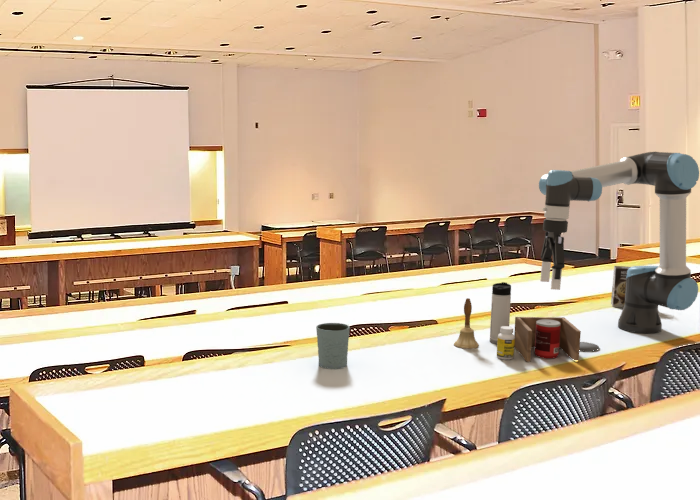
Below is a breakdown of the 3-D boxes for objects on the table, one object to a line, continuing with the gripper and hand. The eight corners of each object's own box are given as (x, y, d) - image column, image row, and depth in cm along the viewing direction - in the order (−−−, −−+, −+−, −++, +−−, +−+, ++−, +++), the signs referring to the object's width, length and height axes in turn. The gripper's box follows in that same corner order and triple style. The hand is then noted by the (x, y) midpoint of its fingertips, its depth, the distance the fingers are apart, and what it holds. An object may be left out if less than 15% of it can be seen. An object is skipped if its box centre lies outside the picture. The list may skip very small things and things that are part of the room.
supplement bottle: (503, 360, 272) (505, 330, 270) (493, 356, 276) (494, 326, 275) (517, 358, 274) (519, 328, 273) (506, 354, 279) (508, 324, 277)
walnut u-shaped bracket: (562, 346, 290) (564, 317, 288) (578, 362, 272) (580, 331, 270) (513, 346, 289) (515, 316, 287) (526, 361, 271) (528, 330, 269)
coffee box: (612, 307, 351) (615, 268, 349) (610, 303, 358) (613, 265, 355) (636, 308, 350) (639, 269, 347) (633, 305, 356) (636, 266, 354)
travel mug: (510, 340, 296) (513, 283, 293) (505, 345, 290) (508, 286, 287) (492, 338, 298) (495, 281, 295) (487, 342, 292) (490, 284, 289)
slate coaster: (593, 343, 294) (593, 341, 294) (602, 351, 284) (603, 350, 284) (564, 343, 294) (564, 341, 294) (572, 351, 284) (572, 349, 284)
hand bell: (478, 349, 284) (480, 302, 281) (452, 347, 285) (454, 300, 283) (479, 343, 292) (481, 296, 289) (454, 341, 293) (456, 295, 291)
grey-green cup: (337, 371, 256) (338, 332, 254) (309, 365, 262) (309, 327, 260) (355, 363, 265) (356, 325, 263) (327, 358, 270) (328, 320, 268)
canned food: (556, 352, 282) (559, 319, 281) (560, 359, 274) (562, 325, 273) (533, 351, 283) (534, 318, 281) (535, 358, 275) (537, 324, 273)
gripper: (534, 214, 286) (529, 277, 289) (554, 222, 261) (547, 292, 264) (557, 215, 286) (551, 279, 289) (578, 224, 262) (572, 293, 265)
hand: (549, 285), depth 277 cm, fingers open, 13 cm apart
